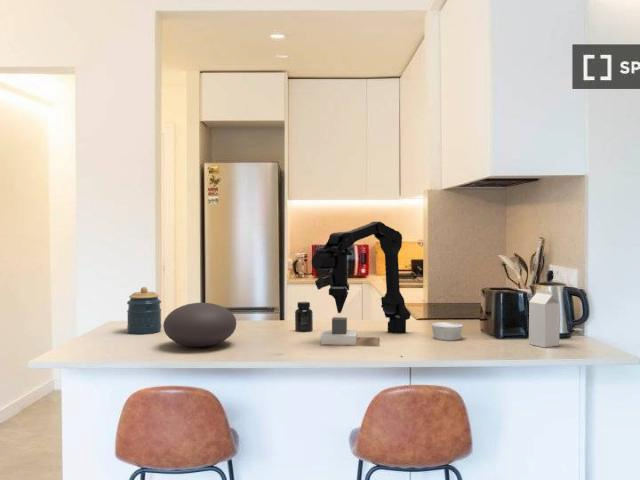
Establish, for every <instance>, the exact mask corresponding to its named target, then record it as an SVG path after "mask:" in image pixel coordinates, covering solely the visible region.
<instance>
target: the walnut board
mask: <svg viewBox="0 0 640 480" xmlns="http://www.w3.org/2000/svg"><path fill="white" fill-rule="evenodd" d="M319 345H320V347H321V346H323V347H373V348H374V347H381V346H380V337H374V336H373V337H372V336H371V337H367V336H366V337H365V336H363V337H362V336H360V337H359V336H357V342H356V345H333V344H321V343H320V344H319Z"/></svg>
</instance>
